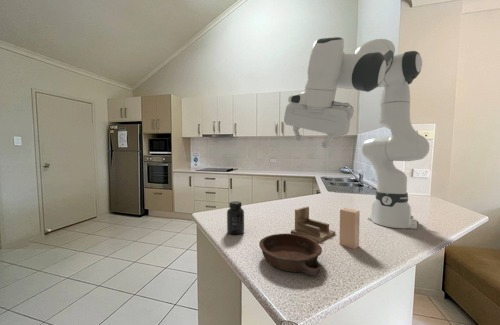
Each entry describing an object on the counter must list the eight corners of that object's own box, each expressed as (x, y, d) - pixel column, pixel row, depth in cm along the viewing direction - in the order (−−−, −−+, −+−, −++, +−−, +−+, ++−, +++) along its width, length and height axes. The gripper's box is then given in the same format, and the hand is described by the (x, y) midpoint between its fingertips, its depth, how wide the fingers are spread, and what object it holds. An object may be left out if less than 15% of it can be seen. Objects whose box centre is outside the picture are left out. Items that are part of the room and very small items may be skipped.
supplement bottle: (247, 230, 85) (247, 201, 85) (239, 236, 79) (239, 205, 79) (232, 228, 88) (232, 199, 88) (223, 233, 82) (223, 203, 81)
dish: (285, 241, 76) (285, 227, 75) (341, 268, 57) (341, 250, 57) (244, 253, 66) (244, 237, 66) (295, 291, 48) (295, 269, 47)
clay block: (344, 241, 74) (344, 208, 74) (358, 246, 71) (359, 210, 70) (339, 244, 72) (340, 209, 72) (354, 249, 68) (355, 212, 68)
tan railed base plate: (308, 226, 90) (308, 205, 90) (335, 234, 81) (335, 211, 81) (291, 232, 83) (291, 210, 82) (318, 242, 74) (318, 217, 73)
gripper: (358, 103, 59) (346, 149, 64) (294, 95, 71) (288, 135, 76) (351, 104, 54) (339, 154, 60) (284, 96, 66) (279, 138, 72)
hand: (310, 143), depth 68 cm, fingers open, 8 cm apart
